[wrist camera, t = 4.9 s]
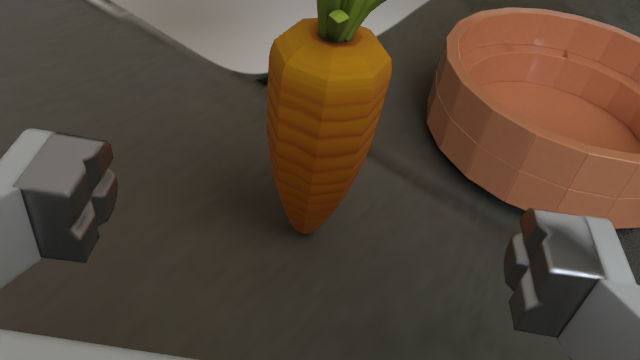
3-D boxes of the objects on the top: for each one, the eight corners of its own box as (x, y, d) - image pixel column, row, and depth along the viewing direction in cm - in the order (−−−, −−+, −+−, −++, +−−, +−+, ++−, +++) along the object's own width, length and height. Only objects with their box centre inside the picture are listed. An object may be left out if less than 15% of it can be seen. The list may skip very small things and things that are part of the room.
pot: (387, 163, 35) (408, 86, 31) (463, 51, 47) (484, -15, 43) (675, 282, 31) (738, 209, 27) (679, 126, 42) (724, 60, 39)
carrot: (310, 186, 33) (355, -94, 23) (370, 241, 30) (451, -46, 20) (236, 220, 30) (249, -79, 20) (295, 285, 27) (344, -20, 17)
